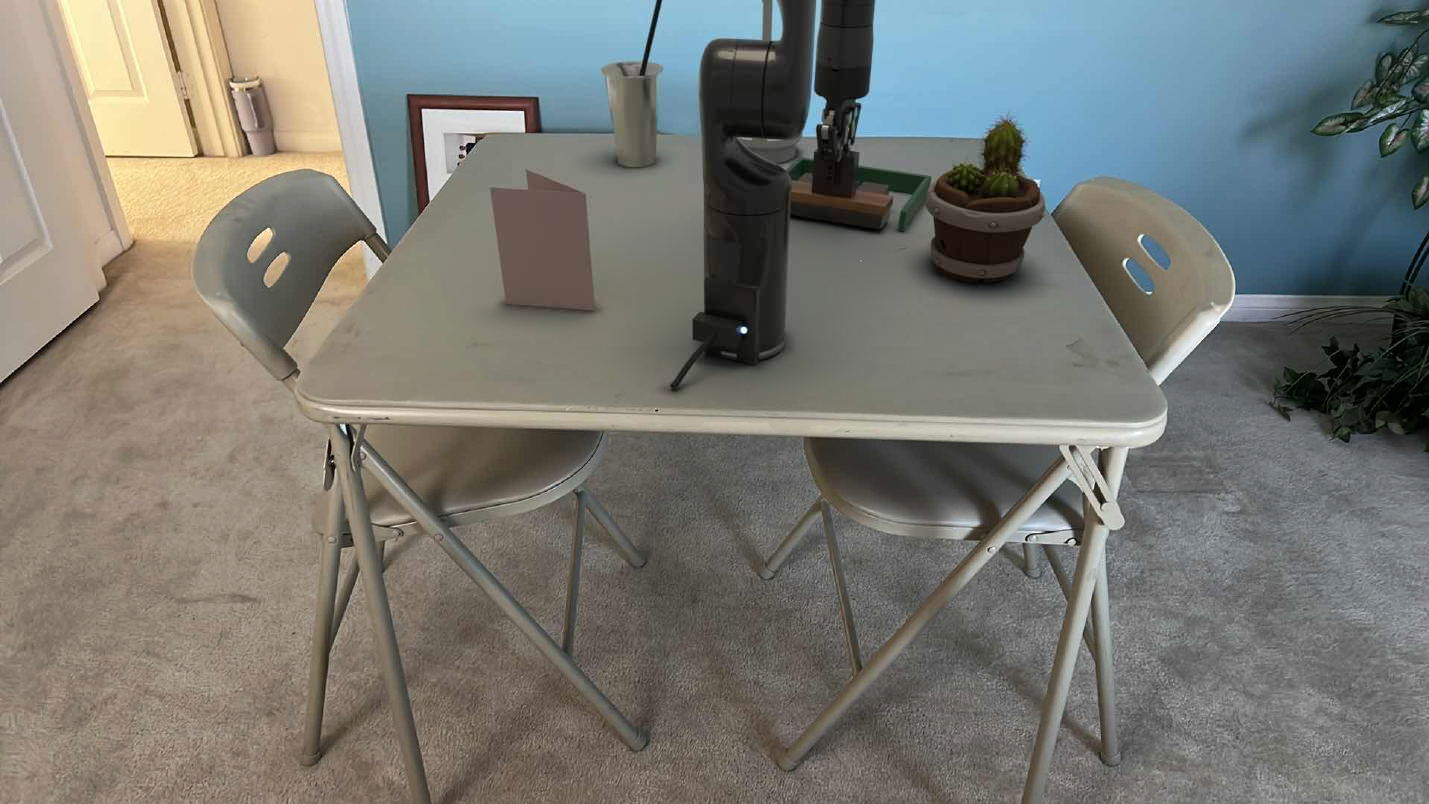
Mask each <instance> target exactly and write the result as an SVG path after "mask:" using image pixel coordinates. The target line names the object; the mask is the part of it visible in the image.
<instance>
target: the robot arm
mask: <svg viewBox="0 0 1429 804" xmlns="http://www.w3.org/2000/svg"><path fill="white" fill-rule="evenodd" d="M776 3H777V6H778V9H779V13H780V19H781V28H782V29H781V37H780V39H779V40H776V39H775V40H772V39H771V40H762V39H752V38H751V39H750V38H732V37H731V38H727V37H726V38H723V37H720V38H715V39H712V40H711V41H710V42H709V43H707V45H706V46H705V48H704V50H703V53H702V56H701V59H700V64H699V70H698V107H699V120H700V132H701V133H700V135H701V136H700V137H701V152H702V153H701V155H702V157H701V158H702V160H701V161H702V184H703V311H698V313H697V314H696V315H695V316H694V317H693V318H692V319H691V320H692V321H691V322H692V325H691V329H692V330H691V333H692V341H697V342H701V344H700V345H699V346H698V347H697V349H695V351H694V352H693V353H692V354H691V356H690V357H689V358H688V359H687V361H686V362H685V364H684V365H683V366H682V367H681V369H680V371H679V372H678V374H677V375H676V377H675V378H674V379H673V381H672V382H671V383H670V384H669V386H670V388H671V390H676V389H677V388H678V387H679V386H680V384H681V383H682V381H683V380H684V378H685V377H686V375H687V374H688V372H689V371H690V369H691V368H692V367H693V365H694V364H695V362H696V361H698V359H699V358H700V356H701V355H702V354H703V353H704V354H705V355H709V356H712V357H717V358H722V359H727V360H731V361H735V362H739V363H744V364H749V365H756V364H757V363H758V362H759V361H762V360H764V359H768V358H771V357H773V356H775V355H777V354H778V353H780V352H781V351H782V350H783V349H784V347H785V345H786V338H787V337H786V336H787V333H786V320H787V319H786V318H787V294H788V293H787V292H788V290H787V289H788V271H789V249H790V228H791V226H790V225H791V215H790V210H791V191H792V183H791V177H790V175H789V173H788V172H787V171H786V168H784V167H782V166H781V165H779V163H774V162H772V161H770V160H767V159H765V158H763V157H761V156H759V155H757V154H756V153H754V152H753V151H751V150H750V149H749V148H747V147H746V146H745V145H744V144H743V143H742V142H741V141H740V139H739V138H738V137H743V138H759V139H776V140H792V139H796V138H797V137H798V136H800V134H801V133H802V134H803V132H804V130H805V127H806V124H807V121H808V119H809V117H808V116H809V113H810V108H811V107H810V106H811V97H812V87H813V91H814V93H815V94H816V95H817V96H819V97H822V99H823V98H824V100H825V102H826V103H825V107H824V108H823V110H822V111H821V122H822V124H821V123H817V124H816V127H815V133H816V134H815V135H816V143H817V145H816V146H817V149H818V154H819V160H825V164H824V179H823V184H824V185H825V186H829V187H837V186H838V185H839V182H840V169H841V160H842V150H848V151H852V148H851V147H852V146H854V144H855V142H856V135H857V129H858V125H859V119H860V114H861V110H862V103H861V102H856V101H857V100H860V99H863V98H866V97H867V96H868V95H869V93H870V87H871V77H872V76H871V75H872V64H873V54H874V53H873V51H874V41H875V40H874V39H875V38H874V20H875V10H876V0H821V1H820V15H819V25H818V26H819V27H818V32H817V37H816V50H815V32H816V11H817V0H776ZM814 51H815V62H814ZM814 63H815V65H814ZM814 66H815V67H814ZM813 70H814V71H813ZM813 73H814V80H813ZM813 81H814V83H813ZM812 85H813V86H812ZM802 131H803V132H802ZM829 149H830V150H831V151H832V152H829Z"/></svg>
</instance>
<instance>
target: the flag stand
mask: <svg viewBox="0 0 1429 804" xmlns="http://www.w3.org/2000/svg"><path fill="white" fill-rule="evenodd" d="M761 2H762V30H761V31H762V32H761V33H762V34H761V35H762V36H761V40H772V37H773V36H772V34H773V7H774V5H773V3H774V0H761ZM803 132H804V130H803V131H802V133H801V134H800V136H798V137H797V138H796V139H792V140H776V139H759V138H743V137H738V138H739V139H740V141H741V142H742V143H743V144H744V145H745V146H746V147H747V148H749V149H750V150H751V151H753V152H754V153H756V154H757V155H759V156H761V157H763V158H765V159H767V160H770V161H772V162H774V163H776V164H779V163H783V162H787V161H791V160H792V159H793V158H795V156H796V150H797V144H798V143H799V142H801V141H802V140H803V139H802V138H803Z"/></svg>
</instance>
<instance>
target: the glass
mask: <svg viewBox="0 0 1429 804" xmlns="http://www.w3.org/2000/svg"><path fill="white" fill-rule="evenodd" d="M662 3H663V0H656V1H655V5H654V10H653V14H652V17H651V21H650V22H651V23H650V26H649V31H648V36H647V40H646V44H645V49H644V52H643V57H642V61H641V60H629V61H628V60H627V61H626V60H625V61H619V62H613V63H609V64H606V65H604V66H602V67H601V69H600V72H601V74H603V76H604V82H605V88H606V94H607V102H608V107H609V113H610V120H611V125H612V129H613V135H614V142H615V143H614V144H615V150H616V156H617V164H619V165H620V166H622V167H625V168H632V169H633V168H637V169H638V168H647V167H650V166H653V165H654V164H655V163H656V162H657V158H656V156H657V141H658V139H657V138H658V124H659V109H660V95H661V78H662V77H661V75H662V73H663V72H664V70H665V69H664V66H662V65H661V64H659V63H655V62H651V61H649V60H650V54H651V50H652V46H653V42H654V39H655V38H654V37H655V33H656V29H657V24H658V20H659V16H660V11H661V8H662Z"/></svg>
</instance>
